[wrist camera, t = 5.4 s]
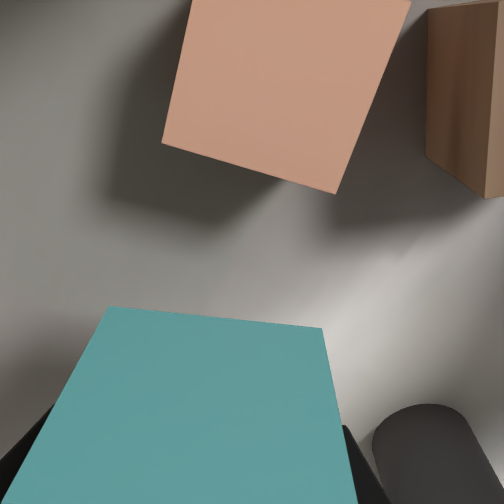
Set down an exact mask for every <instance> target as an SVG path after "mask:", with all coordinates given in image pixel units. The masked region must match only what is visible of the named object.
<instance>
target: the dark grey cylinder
mask: <svg viewBox="0 0 504 504" xmlns="http://www.w3.org/2000/svg"><path fill="white" fill-rule="evenodd" d="M372 451H373V454H374V458H375V461H376V465H377V468H378V472H379V475H380V479H381V482H382V485H383V489H384V491H385V493H386V494H387V496H388V497H389V499H390V500H391V502H392V504H504V488H503V486H502V485H501V483H500V481H499V479H498V477H497V475H496V474H495V472H494V470H493V468H492V466H491V464H490V463H489V461H488V459H487V457H486V455H485V454H484V452H483V450H482V448H481V446H480V444H479V443H478V441H477V439H476V437H475V435H474V434H473V432H472V430H471V428H470V426H469V424H468V423H467V421H466V420H465V418H464V417H463V416H462V415H461V414H460V413H458V412H457V411H455V410H454V409H452V408H449V407H446V406H443V405H437V404H420V405H414V406H410V407H407V408H404V409H401V410H399V411H397V412H395V413H394V414H392V415H390V416H389V417H388V418H386V419H385V420H384V421H383V422H382V423H381V424H380V425H379V427H378V428H377V430H376V431H375V433H374V436H373V440H372Z"/></svg>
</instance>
